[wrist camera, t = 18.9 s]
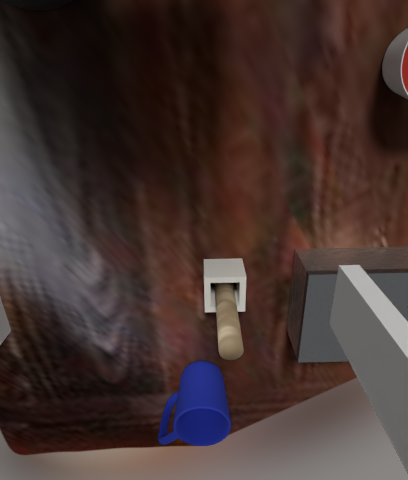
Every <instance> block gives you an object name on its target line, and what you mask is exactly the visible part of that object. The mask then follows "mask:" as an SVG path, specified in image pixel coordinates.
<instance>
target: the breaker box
mask: <svg viewBox="0 0 408 480" xmlns="http://www.w3.org/2000/svg"><path fill="white" fill-rule="evenodd" d="M339 265H360V266H361V268H362V269H363V270H364V271H365V272H366V273H367V275H368V276H369V277H370V278H371V279H372V280H373V282H374V283H375V284H376V285H377V286H378V288H379V289H380V290H381V291H382V292H383V293H384V295H385V296H386V297H387V298H388V299H389V300H390V302H391V303H392V304H393V305H394V306H395V307H396V309H397V310H398V311H399V312H400V313H401V315H402V316H403V317H404V318H405V319H406V320H407V322H408V247H367V248H321V249H295V252H294V261H293V271H292V281H291V291H290V301H289V311H288V321H287V332H288V335H289V338H290V340H291V343H292V346H293V349H294V352H295V355H296V358H297V361H298V362H344V361H348V359H347V357H346V355H345V353H344V351H343V349H342V347H341V345H340V343H339V341H338V340H337V338H336V336H335V334H334V332H333V330H332V328H331V326H330V324H329V323H330V317H331V311H332V305H333V299H334V293H335V287H336V280H337V274H338V268H339Z"/></svg>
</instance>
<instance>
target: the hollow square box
mask: <svg viewBox="0 0 408 480" xmlns="http://www.w3.org/2000/svg"><path fill="white" fill-rule="evenodd" d="M234 282H236V286H234V292H235V298H236V305H237V311H238V312H244V311H245V299H246V273H245V269H244V265H243V260H242V258H240V259H204V297H205V312H216V300H215V287H210V283H234Z"/></svg>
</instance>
